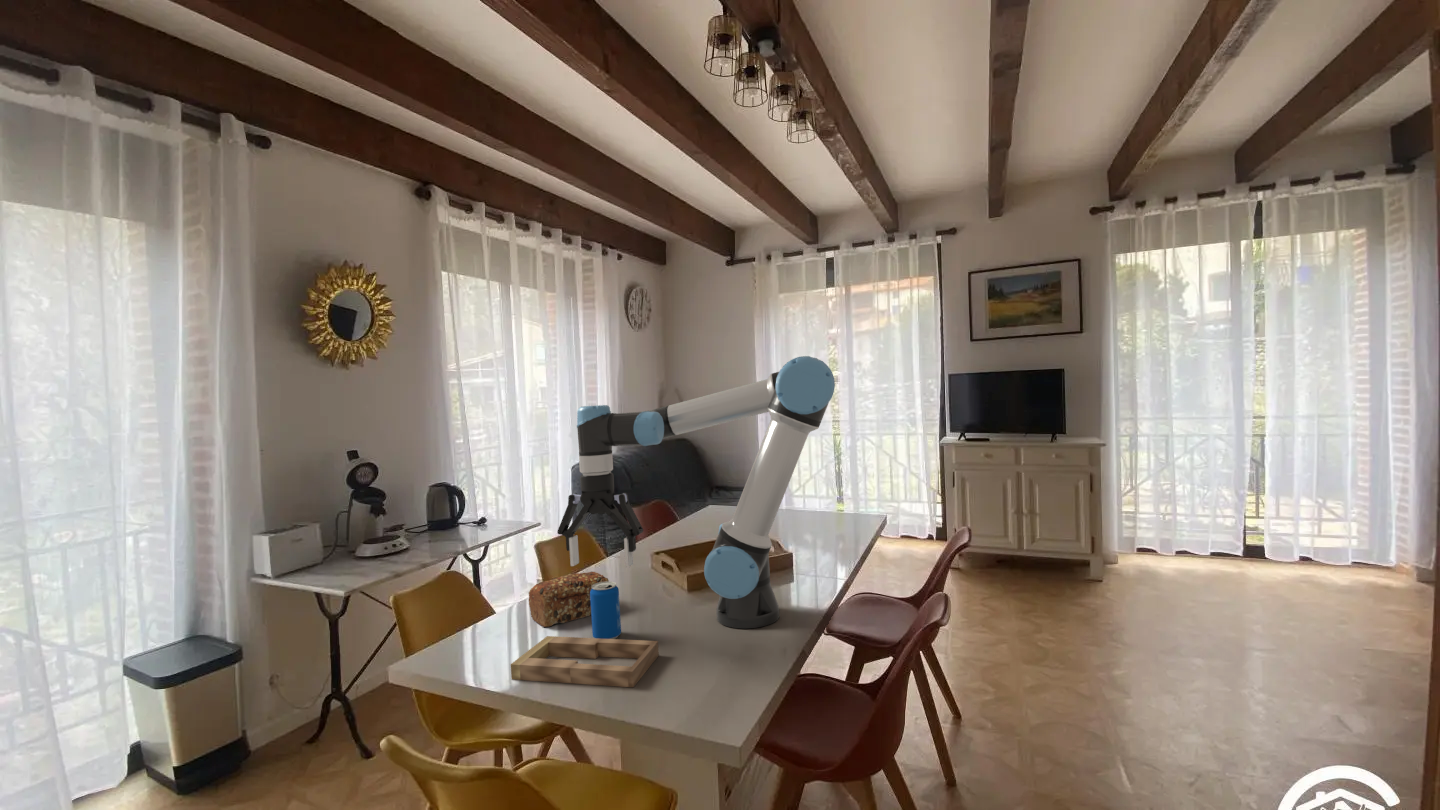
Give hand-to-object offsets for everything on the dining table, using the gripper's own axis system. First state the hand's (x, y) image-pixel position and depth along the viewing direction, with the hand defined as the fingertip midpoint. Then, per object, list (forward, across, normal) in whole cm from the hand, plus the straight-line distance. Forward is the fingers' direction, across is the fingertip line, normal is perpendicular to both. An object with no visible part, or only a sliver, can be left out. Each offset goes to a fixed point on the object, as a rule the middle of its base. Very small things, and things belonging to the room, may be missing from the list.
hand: (601, 565), depth 139 cm
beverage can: (+17, 0, 0) cm, 17 cm away
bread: (+17, +16, -13) cm, 27 cm away
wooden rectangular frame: (+16, -3, +15) cm, 22 cm away
